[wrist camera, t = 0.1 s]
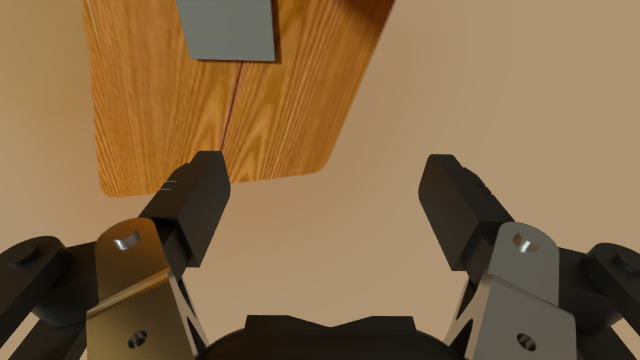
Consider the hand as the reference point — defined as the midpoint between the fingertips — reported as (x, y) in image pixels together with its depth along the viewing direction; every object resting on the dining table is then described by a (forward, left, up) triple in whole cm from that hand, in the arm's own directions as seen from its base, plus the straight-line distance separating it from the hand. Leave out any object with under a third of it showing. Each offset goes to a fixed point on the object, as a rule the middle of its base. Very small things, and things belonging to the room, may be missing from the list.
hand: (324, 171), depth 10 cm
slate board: (-4, -12, -29) cm, 32 cm away
